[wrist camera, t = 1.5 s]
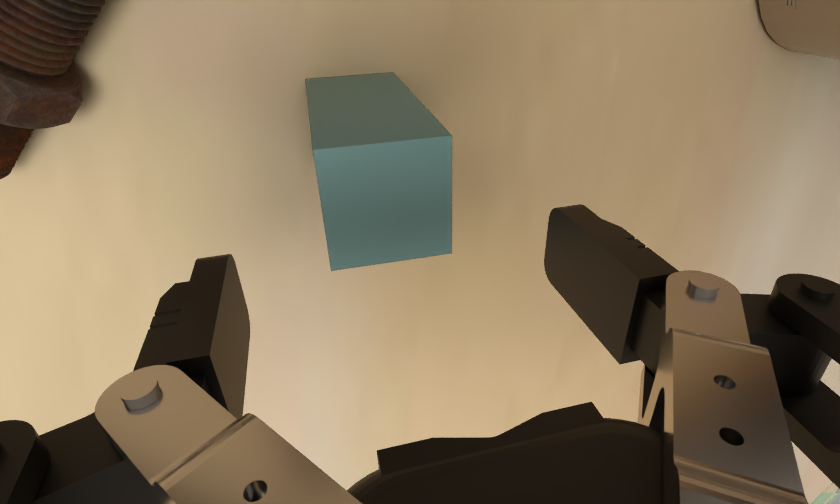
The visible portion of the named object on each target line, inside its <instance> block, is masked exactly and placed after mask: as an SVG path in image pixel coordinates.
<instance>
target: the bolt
mask: <svg viewBox="0 0 840 504" xmlns="http://www.w3.org/2000/svg"><path fill="white" fill-rule="evenodd" d="M104 3H105V0H0V179H2V178H4V177H6V176H7V175H9V174H10V172H11V170H12V168H13V167H14V165H15V163H16V160H17V159H18V157H19V155H20V153H21V150H22V149H23V148H24V147H25V143H26V142H27V141H28V138H30V135H31V132H32V131H33V130H34V129H38V128H49V127H54V126H58V125H62V124H66V123H69V122H70V121H71V120H72V118H73V116H74V114H75V113H76V111H77V109H78V108H79V106H80V104H81V102H82V82H81V75H80V73H79V71H78V69H77V68H76V66H75V65H74V64H73V62H72V60H73V59H72V58H74V57H75V56H76V53H77V52H76V51H78V50H79V49H80V45H81V43H82V42H83V40H84V36H86V35H87V33H88V29H89V28H90V27H91V26H92V24H93V22H92V21H93V20H94V19H95V18H96V17H97V13H98V12H99V11H100V10H101V6H102V5H103V4H104Z"/></svg>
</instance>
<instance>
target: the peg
mask: <svg viewBox="0 0 840 504" xmlns="http://www.w3.org/2000/svg"><path fill="white" fill-rule="evenodd" d="M305 83H306V92H307V101H308V110H309V119H310V128H311V137H312V146H313V154H314V161H315V167H316V174H317V181H318V187H319V194H320V200H321V207H322V214H323V220H324V227H325V234H326V240H327V247H328V254H329V260H330V267H331V271H334V270H341V269H348V268H355V267H361V266H368V265H375V264H382V263H389V262H396V261H402V260H409V259H416V258H423V257H430V256H437V255H444V254H450V253H452V135H451V134H450V133H449V132H448V131H447V130H446V129H445V128H444V127H443V125H442V124H441V123H440V122H439V121H438V120H437V119H436V118H435V117H434V116H433V115H432V114H431V113H430V112H429V110H428V109H427V108H426V107H425V106H424V105H423V104H422V103H421V102H420V101H419V100H418V99H417V98H416V97H415V96H414V94H413V93H412V92H411V91H410V90H409V89H408V88H407V87H406V86H405V85H404V84H403V83H402V82H401V81H400V79H399V78H398V77H397V76H396V75H395V74H394V73H393V72H389V73H376V74H364V75H351V76H338V77H325V78H312V79H305Z"/></svg>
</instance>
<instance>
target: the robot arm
mask: <svg viewBox="0 0 840 504" xmlns="http://www.w3.org/2000/svg"><path fill="white" fill-rule="evenodd" d="M759 7H760V13H761V19H762V21H763V23H764V26H765V28H766V30H767V33H768V34H769V35H770V36H771V37H772V38H773V40H774V41H775V42H776V43H777V44H779V45H781V46H782V47H784V48H786V49H788V50H792V51H797V52H802V53H808V54H813V55H819V56H824V57H830V58H836V59H840V0H759ZM544 266H545V271H546V275H547V277H548V280H549V281H550V283H551V284H552V285H553V286H554V288H555V289H556V290H557V291H558V292H559V293H560V295H561V296H562V297H563V298H564V299H565V301H566V302H567V303H568V304H569V305H570V306H571V308H572V309H573V310H574V311H575V312H576V313H577V315H578V316H579V317H580V318H581V319H582V321H583V322H584V323H585V324H586V325H587V326H588V328H589V329H590V330H591V331H592V332H593V334H594V335H595V336H596V337H597V338H598V339H599V341H600V342H601V343H602V344H603V345H604V346H605V348H606V349H607V350H608V351H609V352H610V354H611V355H612V356H613V357H614V358H615V359H616V361H617V362H618V363H619V364H624V363H628V362H633V361H638V360H641V361H642V362H643V363H644V366H643V369H642V373H641V382H640V396H639V410H638V423H636V422H631V421H626V420H620V419H611V418H603V417H602V416H601V414H600V413H599V411H598V410H597V409H596V407H595V406H594V404H593V403H592V402H588V403H584V404H580V405H575V406H571V407H566V408H562V409H558V410H553V411H549V412H544V413H541V414H539V415H537V416H535V417H533V418H531V419H530V420H528V421H526V422H524V423H522V424H520V425H518V426H516V427H514V428H512V429H510V430H508V431H506V432H504V433H502V434H500V435H498V436H496V437H490V438H430V439H425V440H421V441H417V442H412V443H408V444H403V445H399V446H395V447H390V448H386V449H381V450H377V457H378V465H379V469H378V470H376V471H375V472H373V473H371V474H369V475H367V476H366V477H364V478H363V479H361V480H360V481H358V482H357V483H355V484H354V485H353V486H352V487H351V488H349V489H348V490H347V491H346V490H345V489H344V488H343V487H341V486H340V485H339V484H338V483H337V482H335V481H334V480H333V479H332V478H331V477H329V476H328V475H327V474H326V473H324V472H323V471H322V470H321V469H320V468H318V467H317V466H316V465H315V464H314V463H312V462H311V461H310V460H309V459H308V458H306V457H305V456H304V455H303V454H302V453H300V452H299V451H298V450H297V449H295V448H294V447H293V446H292V445H291V444H289V443H288V442H287V441H286V440H285V439H283V438H282V437H281V436H280V435H279V434H277V433H276V432H275V431H274V430H273V429H271V428H270V427H269V426H268V425H266V424H265V423H264V422H263V421H262V420H260V419H259V418H258V417H256V416H255V415H253V414H250V413H247V414H245V415H244V416H243V417H242V415H243V405H244V394H245V383H246V372H247V361H248V351H249V340H250V321H249V314H248V309H247V305H246V302H245V298H244V294H243V291H242V287H241V283H240V279H239V276H238V272H237V268H236V265H235V261H234V259H233V256H232V255H231V254H227V255H220V256H213V257H206V258H199V259H197V260H196V262H195V265H194V268H193V272H192V275H191V278H190V281H188V282H182V283H175V284H174V285H173V286H172V287H171V288H170V289H169V290H168V291H167V292H166V293H165V294H164V295H163V296H162V297H161V298H160V301H159V303H158V306H157V309H156V311H155V316H154V317H153V319H152V322H151V325H150V329H149V330H148V333H147V335H146V338H145V341H144V343H143V346H142V349H141V351H140V354H139V357H138V359H137V362H136V365H135V367H134V370H133V372H131V373H129V374H127V375H125V376H123V377H121V378H120V379H118V380H117V381H115V382H114V383H113V384H111V385H110V386H109V387H108V388H107V389H106V390H105V391H104V392H103V393H102V395H101V396H100V398H99V399H98V401H97V403H96V406H95V412H94V413H92V414H90V415H88V416H86V417H84V418H82V419H79V420H77V421H74V422H72V423H69V424H67V425H65V426H62V427H60V428H57V429H55V430H52V431H50V432H47V433H45V434H42V435H40V436H39V435H38V434H37V432H36V431H35V429H34V428H33V427H32V425H30V424H29V423H27V422H24V421H19V420H8V421H2V422H0V504H808V502H807V500H806V498H805V494H804V491H803V487H802V483H801V479H800V475H799V470H798V466H797V462H796V458H795V454H794V450H793V446H792V442H793V443H794V444H795V445H796V446H797V447H798V448H799V449H800V450H801V451H802V452H803V453H804V454H805V455H806V456H807V457H808V458H809V459H810V460H811V461H812V462H813V463H814V464H815V465H816V466H817V467H818V468H819V469H820V470H821V471H822V472H823V473H824V474H825V475H826V476H827V477H828V478H829V479H830V480H831V481H832V482H833V483H834V484H835V485H836V486H837V487H838V488H839V489H840V396H838V395H837V394H836V393H835V392H834V391H832V390H831V389H830V388H829V387H828V386H826V385H825V384H824V383H823V382H822V381H820V379H821V377H822V376H823V374H824V372H825V370H826V368H827V366H828V364H829V362H830V360H831V359H833V360H835V361H836V362H837V363H839V364H840V284H837V283H835V282H833V281H830V280H828V279H824V278H821V277H817V276H813V275H807V274H787V275H783V276H780V277H779V278H778V279H777V281H776V283H775V285H774V288H773V290H772V293H771V295H764V294H740V293H739V291H738V289H737V288H736V287H735V286H734V285H732V284H731V283H730V282H728V281H726V280H725V279H723V278H721V277H718V276H716V275H713V274H709V273H705V272H701V271H690V270H688V271H678V270H677V269H675V268H674V267H673V266H671V265H670V264H669V263H668V262H666V261H665V260H664V259H662V258H661V257H660V256H658V255H657V254H656V253H654V252H653V251H652V250H651V249H649V248H645V245H644V244H643V243H641V242H640V241H639V240H638V239H635V238H634V236H632V235H631V234H630V233H628V232H627V231H626V230H624V229H623V228H622V227H620V226H617V225H615V224H613V223H610V222H608V221H605V220H602V219H601V218H599V217H598V216H597V215H596V214H594V213H593V212H592V211H591V210H589V209H588V208H587V207H586V206H584V205H582V204H581V205H573V206H566V207H559V208H554V209H553V210H552V211H551V213H550V216H549V222H548V231H547V240H546V249H545V258H544ZM791 441H792V442H791Z"/></svg>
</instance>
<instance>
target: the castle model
mask: <svg viewBox="0 0 840 504" xmlns="http://www.w3.org/2000/svg"><path fill="white" fill-rule="evenodd" d="M835 492H836V493H837V494H836V495H835V496H834V497H833V498H832V499H831V500H830V501H829V502H828V503H827V504H840V489H839V488H838V487H837V486H836V485H835V484H834V483H832V484H831V485H829V486H828V487H827V488H826V489H825V490H824V491H823V492H822V493H821V494H820V495H819V496H818V497H817V498H816V499H815V500H814V501H813V502H812V503H811V504H824V503H825V502H826V501H827V500H828V499H829V498H830V497H831V496H832V495H833V494H834V493H835Z"/></svg>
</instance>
